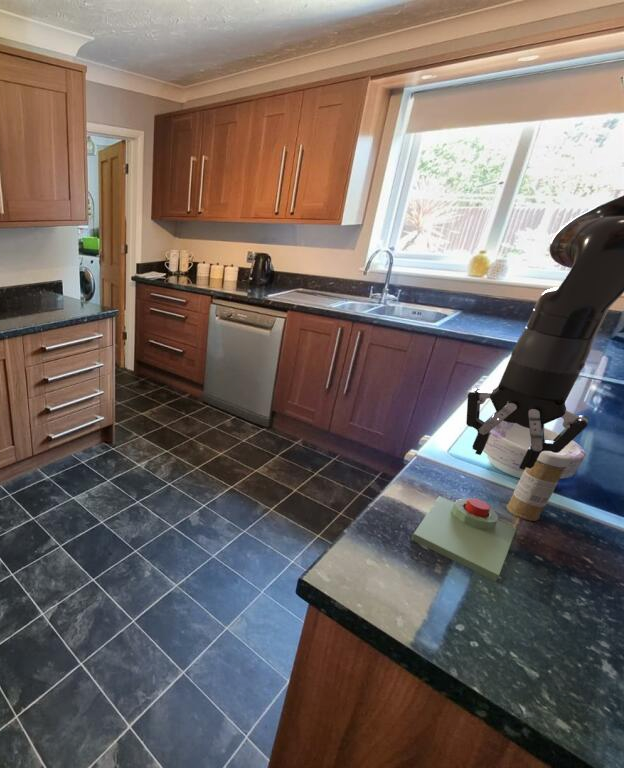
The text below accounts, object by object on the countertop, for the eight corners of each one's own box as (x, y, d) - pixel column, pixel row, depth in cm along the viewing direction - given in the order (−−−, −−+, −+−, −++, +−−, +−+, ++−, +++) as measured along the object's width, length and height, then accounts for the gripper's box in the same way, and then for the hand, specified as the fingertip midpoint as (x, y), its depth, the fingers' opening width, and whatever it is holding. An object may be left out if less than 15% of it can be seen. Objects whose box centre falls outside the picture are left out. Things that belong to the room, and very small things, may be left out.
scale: (437, 500, 79) (442, 487, 78) (514, 533, 72) (521, 519, 71) (410, 540, 70) (416, 526, 69) (495, 582, 62) (503, 567, 61)
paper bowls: (579, 501, 80) (600, 466, 77) (478, 475, 87) (493, 442, 84) (556, 462, 92) (572, 431, 89) (468, 442, 99) (481, 412, 96)
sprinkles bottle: (536, 511, 77) (569, 448, 72) (540, 525, 74) (576, 461, 68) (503, 501, 79) (533, 440, 74) (506, 515, 76) (538, 451, 71)
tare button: (466, 503, 75) (470, 495, 74) (488, 512, 73) (492, 504, 72) (462, 511, 73) (466, 503, 72) (484, 520, 71) (488, 512, 70)
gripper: (618, 370, 59) (563, 471, 66) (488, 344, 69) (452, 434, 76) (617, 383, 54) (558, 491, 61) (477, 354, 64) (440, 449, 71)
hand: (499, 459), depth 68 cm, fingers open, 5 cm apart
